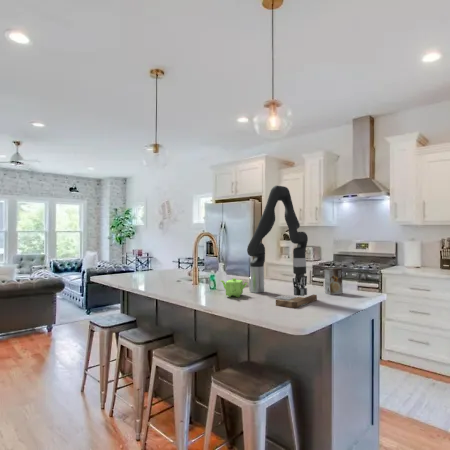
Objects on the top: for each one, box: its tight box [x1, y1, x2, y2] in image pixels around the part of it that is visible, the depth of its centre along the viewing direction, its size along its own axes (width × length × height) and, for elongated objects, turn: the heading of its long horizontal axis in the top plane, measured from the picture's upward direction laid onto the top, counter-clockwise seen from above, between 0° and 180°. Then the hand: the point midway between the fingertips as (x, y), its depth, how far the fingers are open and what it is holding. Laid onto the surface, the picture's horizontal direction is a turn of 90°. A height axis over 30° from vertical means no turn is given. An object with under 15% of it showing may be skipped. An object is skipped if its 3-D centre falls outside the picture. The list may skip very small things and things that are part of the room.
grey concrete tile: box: [274, 294, 297, 300], centre depth 206 cm, size 10×8×1 cm
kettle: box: [219, 277, 248, 298], centre depth 216 cm, size 15×14×11 cm
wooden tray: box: [275, 294, 318, 309], centre depth 192 cm, size 12×26×3 cm, turn 140°
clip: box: [293, 286, 308, 297], centre depth 200 cm, size 6×5×4 cm
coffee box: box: [323, 267, 343, 296], centre depth 218 cm, size 9×6×16 cm
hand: (300, 294), depth 200 cm, fingers closed on clip, 5 cm apart
